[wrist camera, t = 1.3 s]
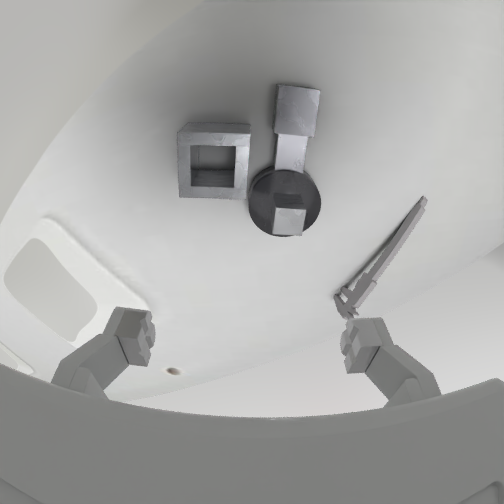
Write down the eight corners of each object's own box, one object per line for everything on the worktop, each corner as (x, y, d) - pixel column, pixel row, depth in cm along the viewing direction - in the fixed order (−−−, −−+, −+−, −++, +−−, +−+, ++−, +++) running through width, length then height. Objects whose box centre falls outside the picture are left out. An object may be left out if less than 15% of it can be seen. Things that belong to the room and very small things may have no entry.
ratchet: (310, 227, 36) (319, 256, 31) (246, 223, 35) (246, 252, 31) (333, 91, 26) (351, 97, 21) (257, 82, 25) (259, 84, 21)
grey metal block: (187, 122, 28) (177, 132, 24) (250, 124, 28) (250, 134, 24) (188, 178, 32) (179, 197, 28) (246, 180, 32) (245, 199, 28)
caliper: (337, 297, 44) (347, 327, 39) (332, 295, 43) (341, 326, 38) (426, 198, 33) (449, 222, 28) (421, 194, 33) (445, 217, 28)
